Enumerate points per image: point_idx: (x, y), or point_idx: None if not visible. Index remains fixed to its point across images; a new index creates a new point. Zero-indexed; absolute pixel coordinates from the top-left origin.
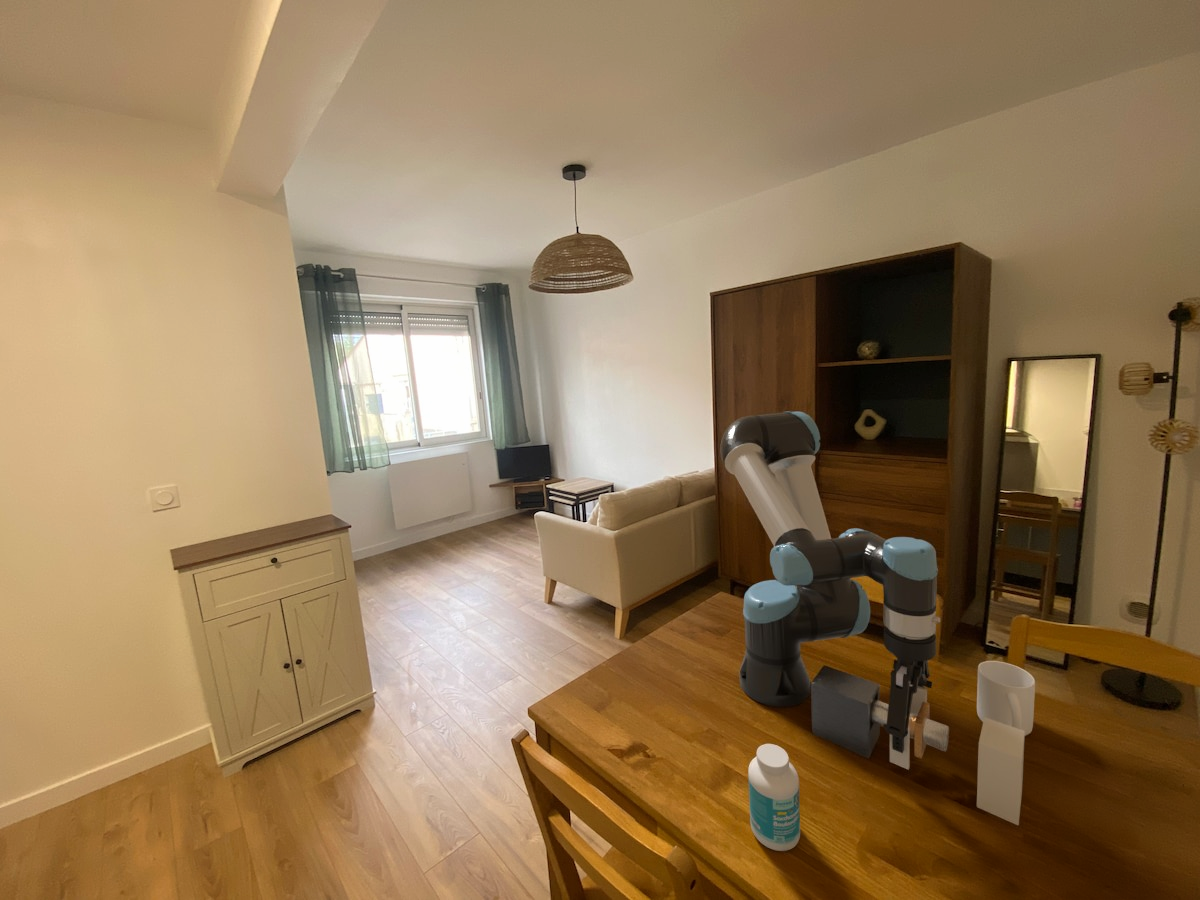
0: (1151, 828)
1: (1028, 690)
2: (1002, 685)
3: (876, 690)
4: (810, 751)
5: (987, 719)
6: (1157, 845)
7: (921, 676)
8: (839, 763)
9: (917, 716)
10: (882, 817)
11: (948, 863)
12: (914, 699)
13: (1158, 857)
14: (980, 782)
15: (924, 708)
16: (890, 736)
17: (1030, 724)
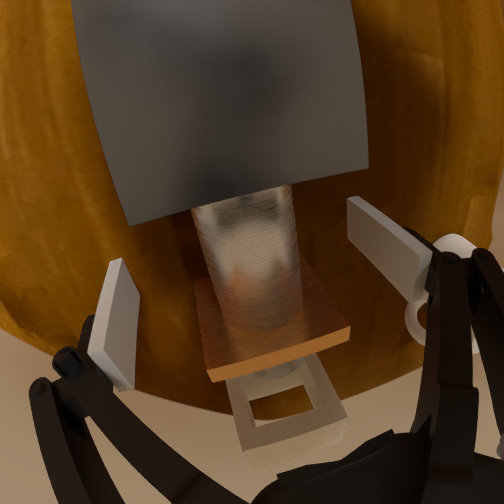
0: None
1: None
2: (473, 337)
3: (310, 176)
4: (58, 47)
5: (343, 421)
6: (307, 402)
7: (421, 384)
8: (79, 115)
9: (247, 360)
10: (44, 260)
11: (77, 344)
12: (385, 245)
13: (291, 407)
14: None
15: (312, 348)
16: (95, 324)
17: None
